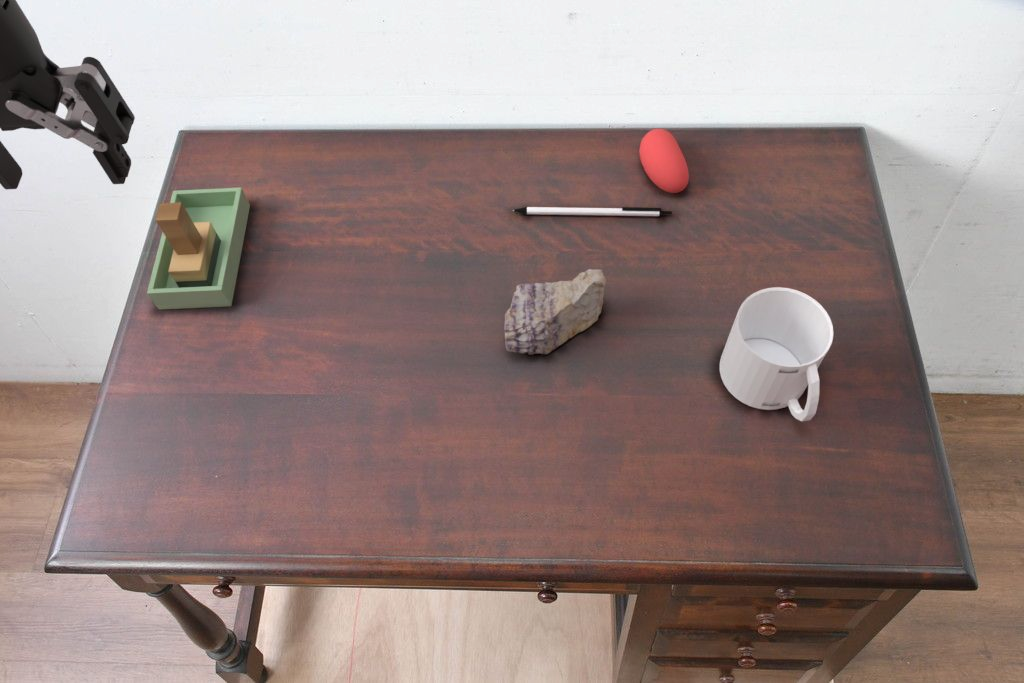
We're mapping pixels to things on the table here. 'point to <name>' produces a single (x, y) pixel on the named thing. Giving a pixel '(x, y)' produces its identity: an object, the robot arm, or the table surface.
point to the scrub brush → (189, 246)
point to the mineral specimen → (553, 312)
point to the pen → (593, 211)
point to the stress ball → (664, 161)
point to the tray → (229, 223)
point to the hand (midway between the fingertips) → (69, 179)
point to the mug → (777, 351)
